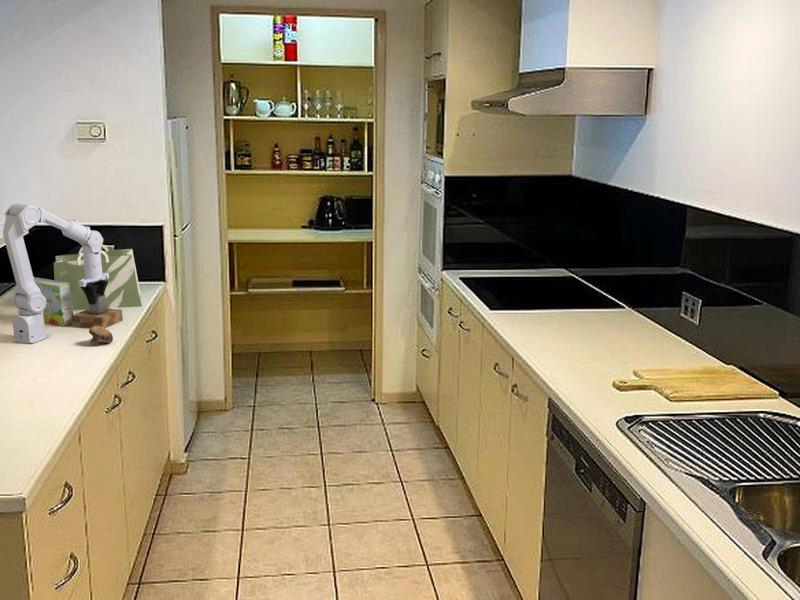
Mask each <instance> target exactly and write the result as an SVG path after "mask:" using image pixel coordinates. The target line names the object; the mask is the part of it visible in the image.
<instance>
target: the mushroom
mask: <svg viewBox="0 0 800 600" xmlns="http://www.w3.org/2000/svg"><path fill="white" fill-rule="evenodd" d="M88 332H89V334H90V335H91V336H92V338H90V340H89V342H90V343H91V344H92V345H94V346H97V344H98V345H99V344H100V343H103V342H104V343H106V344H111V343H112V342H113V340H114V337H113V334H112V332H111V331H110V330H109V329H107V328H103V327H101V326H94V327H91V328H89V329H88Z"/></svg>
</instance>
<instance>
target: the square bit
mask: <svg viewBox="0 0 800 600" xmlns="http://www.w3.org/2000/svg"><path fill="white" fill-rule="evenodd" d="M105 312H106V295H104V294H96V303H95V305H91V304H89V314H92V315H100V314H103V313H105Z"/></svg>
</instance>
